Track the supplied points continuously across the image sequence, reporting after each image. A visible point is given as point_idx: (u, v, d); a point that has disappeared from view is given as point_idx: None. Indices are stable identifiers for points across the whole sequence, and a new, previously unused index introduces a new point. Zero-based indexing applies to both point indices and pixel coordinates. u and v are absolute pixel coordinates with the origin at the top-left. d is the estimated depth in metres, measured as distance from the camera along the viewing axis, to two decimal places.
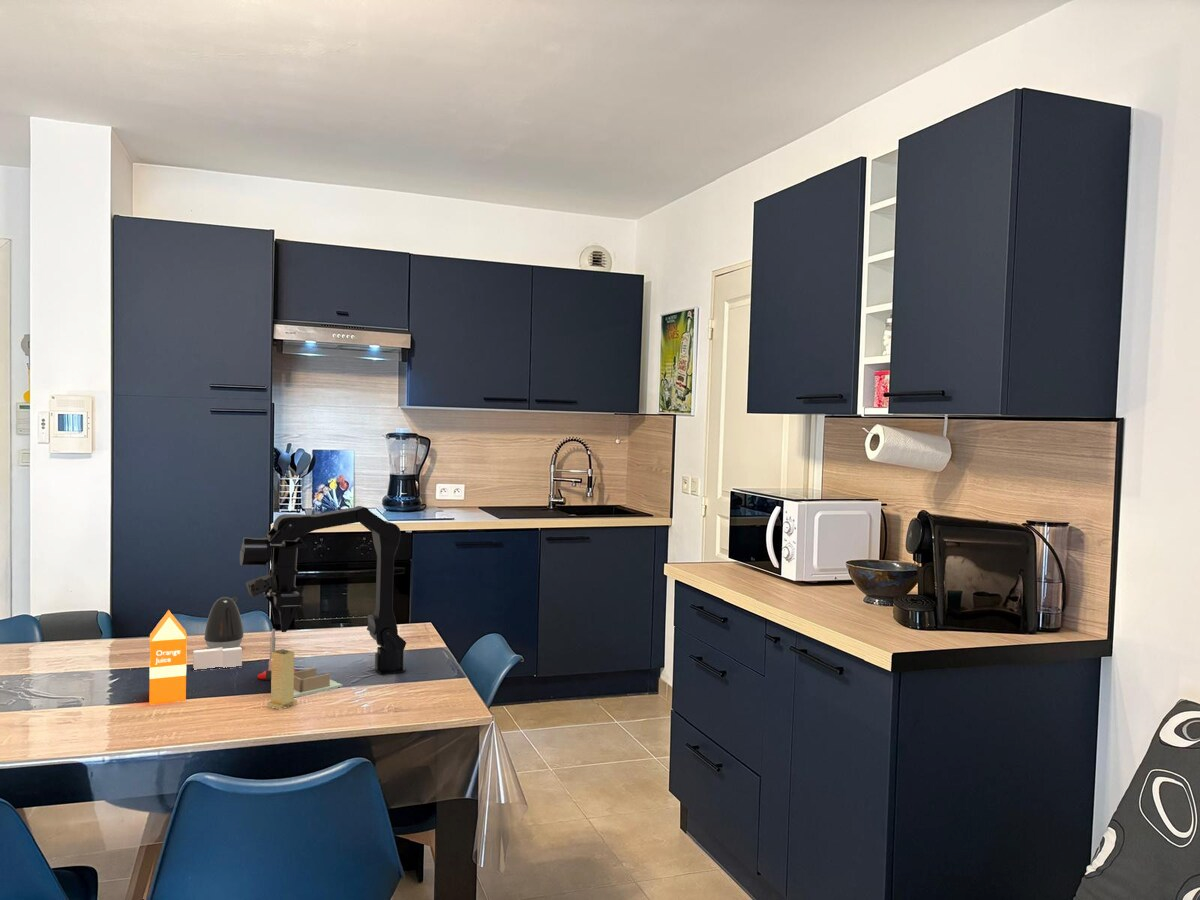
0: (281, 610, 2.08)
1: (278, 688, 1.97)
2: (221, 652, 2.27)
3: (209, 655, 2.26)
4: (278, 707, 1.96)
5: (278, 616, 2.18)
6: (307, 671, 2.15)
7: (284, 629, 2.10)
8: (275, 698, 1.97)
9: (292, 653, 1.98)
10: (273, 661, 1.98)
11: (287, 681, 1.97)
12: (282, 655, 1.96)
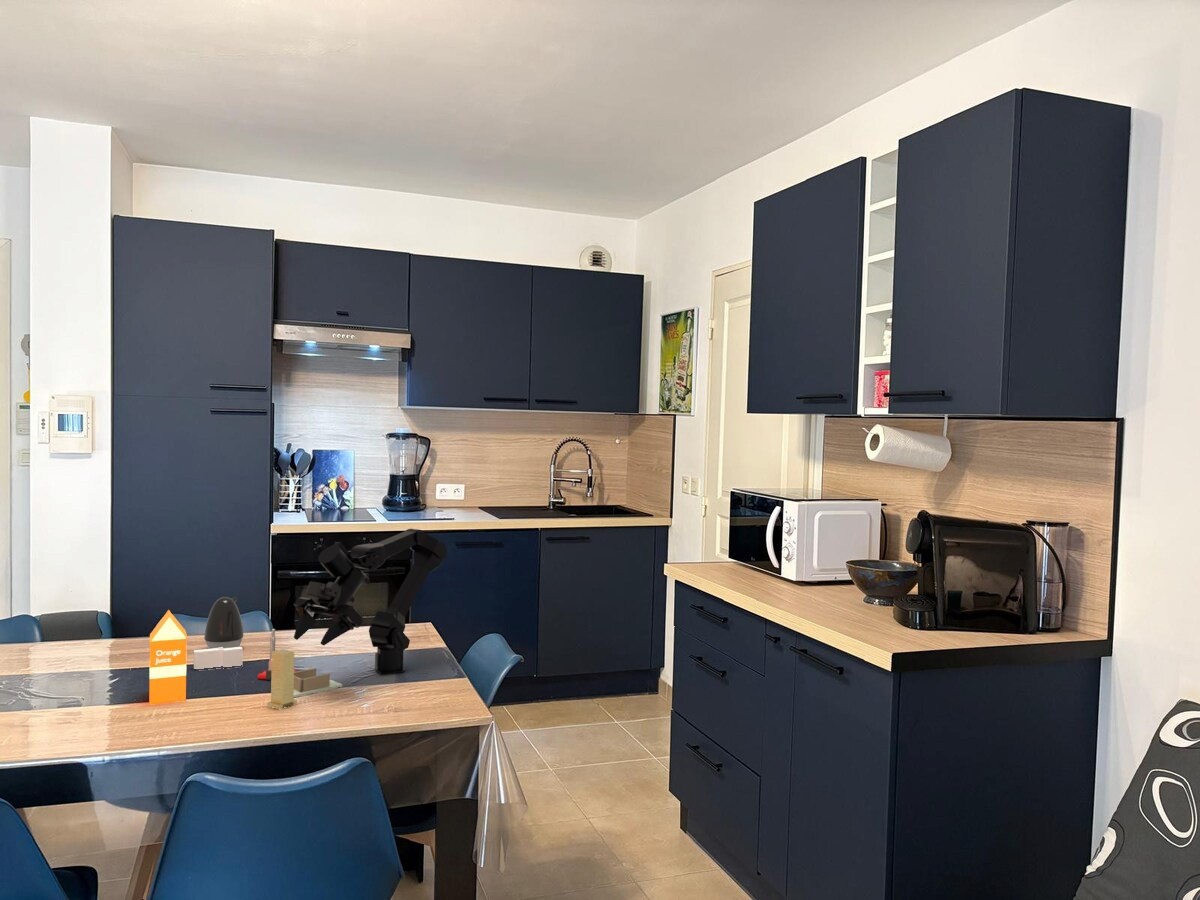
0: (338, 622, 2.04)
1: (278, 688, 1.97)
2: (222, 652, 2.27)
3: (210, 655, 2.26)
4: (278, 707, 1.96)
5: (301, 632, 2.08)
6: (307, 671, 2.15)
7: (324, 642, 2.03)
8: (275, 698, 1.97)
9: (292, 653, 1.98)
10: (273, 661, 1.98)
11: (287, 681, 1.97)
12: (282, 655, 1.96)
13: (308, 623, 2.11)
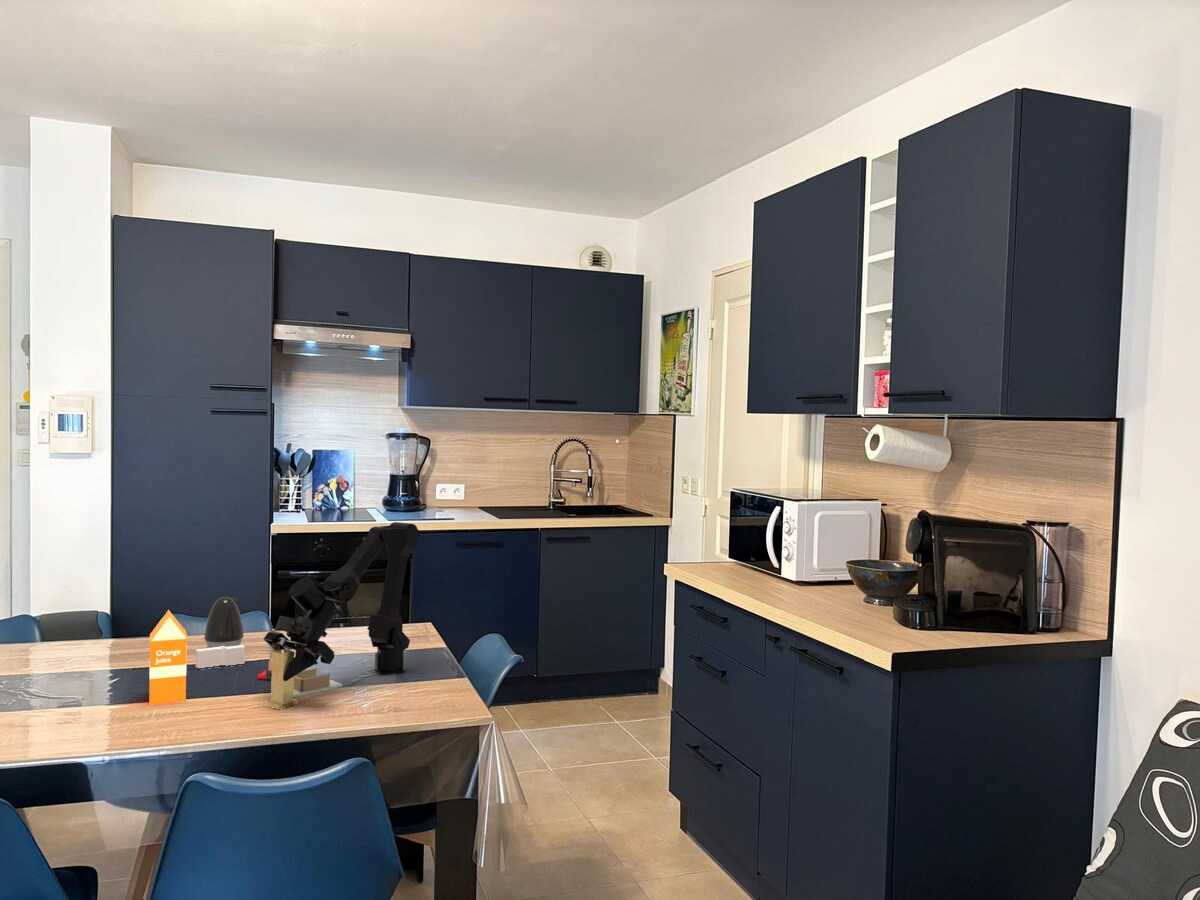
0: (301, 657, 1.98)
1: (278, 688, 1.97)
2: (224, 650, 2.29)
3: (213, 654, 2.27)
4: (278, 707, 1.96)
5: None
6: (307, 671, 2.15)
7: (286, 677, 1.96)
8: (275, 698, 1.97)
9: (292, 653, 1.98)
10: (273, 661, 1.98)
11: (287, 681, 1.97)
12: (282, 655, 1.96)
13: None
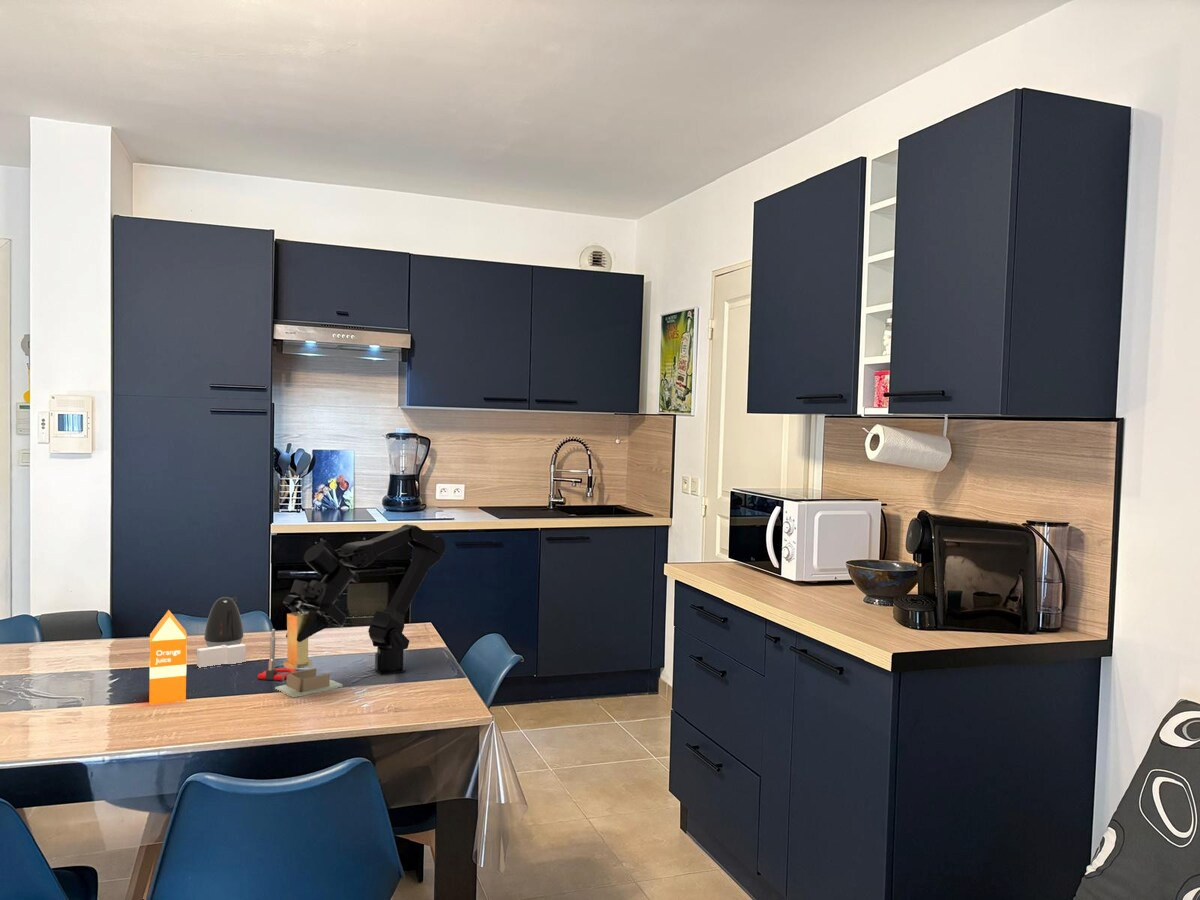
0: (314, 619, 2.05)
1: (293, 649, 2.05)
2: (225, 649, 2.30)
3: (214, 653, 2.28)
4: (292, 667, 2.03)
5: None
6: (307, 671, 2.15)
7: (300, 638, 2.04)
8: (291, 658, 2.05)
9: (306, 615, 2.05)
10: (288, 623, 2.06)
11: (301, 641, 2.05)
12: (295, 617, 2.04)
13: None
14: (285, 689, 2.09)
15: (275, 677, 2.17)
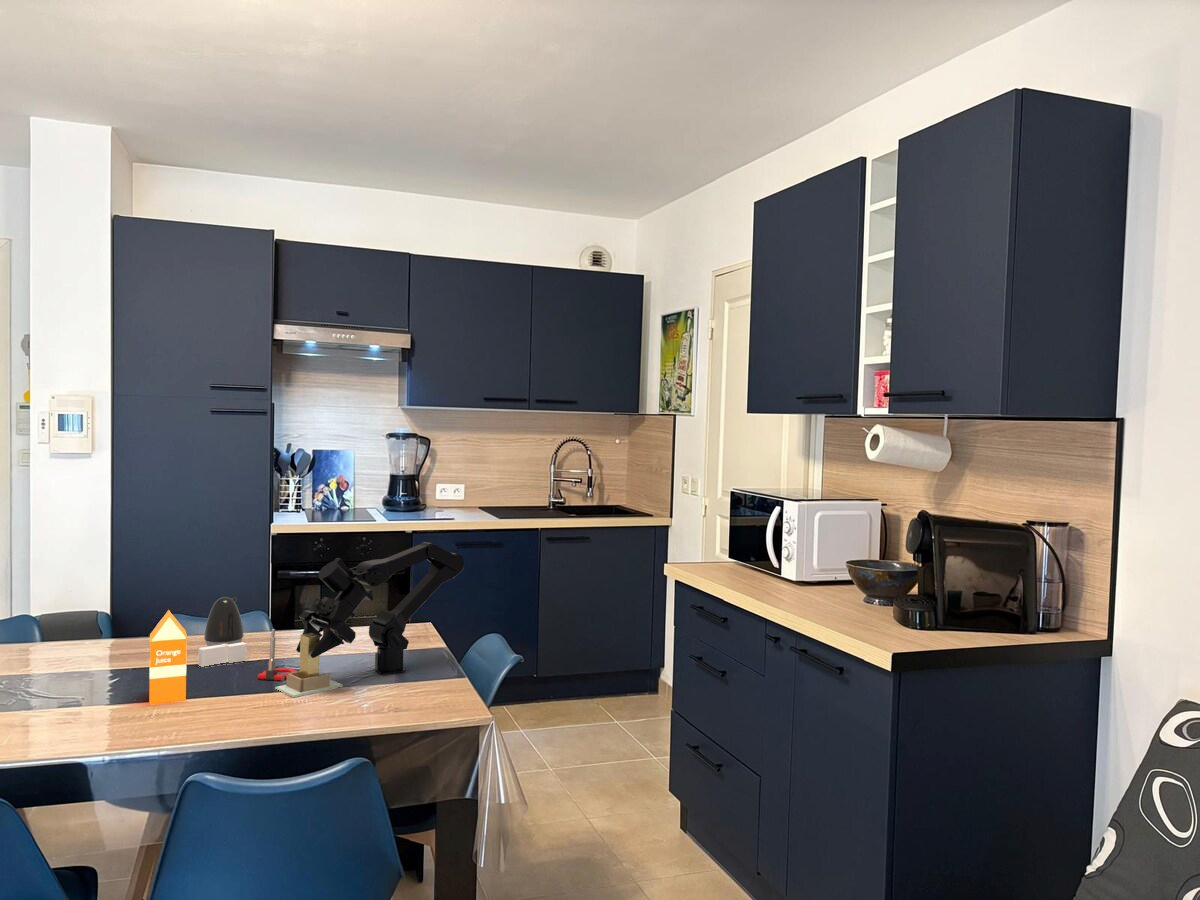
0: (327, 636, 2.09)
1: (304, 669, 2.11)
2: (226, 648, 2.31)
3: (216, 652, 2.29)
4: None
5: None
6: None
7: (313, 654, 2.09)
8: (302, 678, 2.11)
9: (317, 637, 2.11)
10: (301, 643, 2.12)
11: (312, 662, 2.10)
12: (307, 638, 2.10)
13: None
14: (285, 689, 2.09)
15: (275, 677, 2.17)
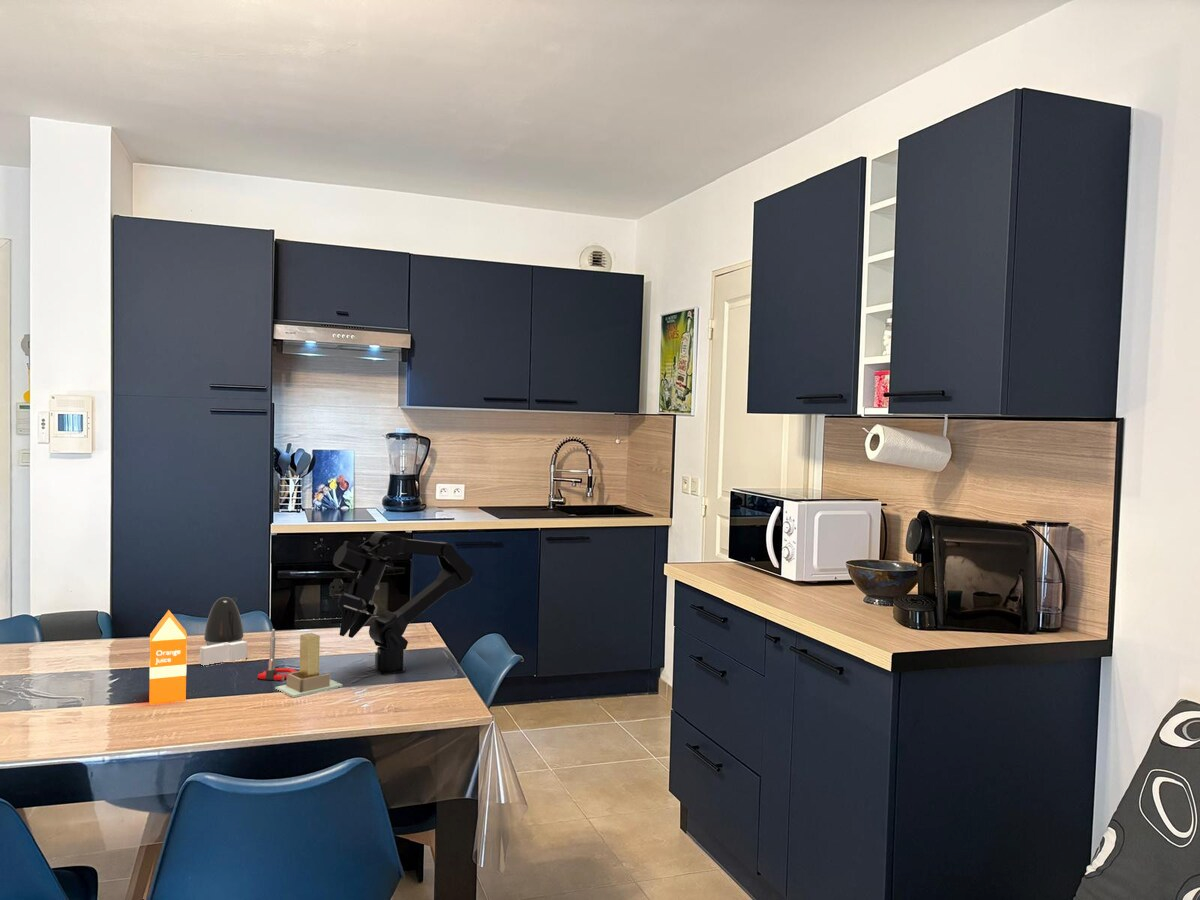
0: (343, 611, 2.15)
1: (304, 669, 2.11)
2: (227, 646, 2.33)
3: (217, 650, 2.31)
4: None
5: (354, 630, 2.25)
6: None
7: (342, 633, 2.15)
8: (302, 678, 2.11)
9: (317, 637, 2.11)
10: (301, 643, 2.12)
11: (312, 662, 2.10)
12: (307, 638, 2.10)
13: (361, 619, 2.26)
14: (285, 689, 2.09)
15: (275, 677, 2.17)
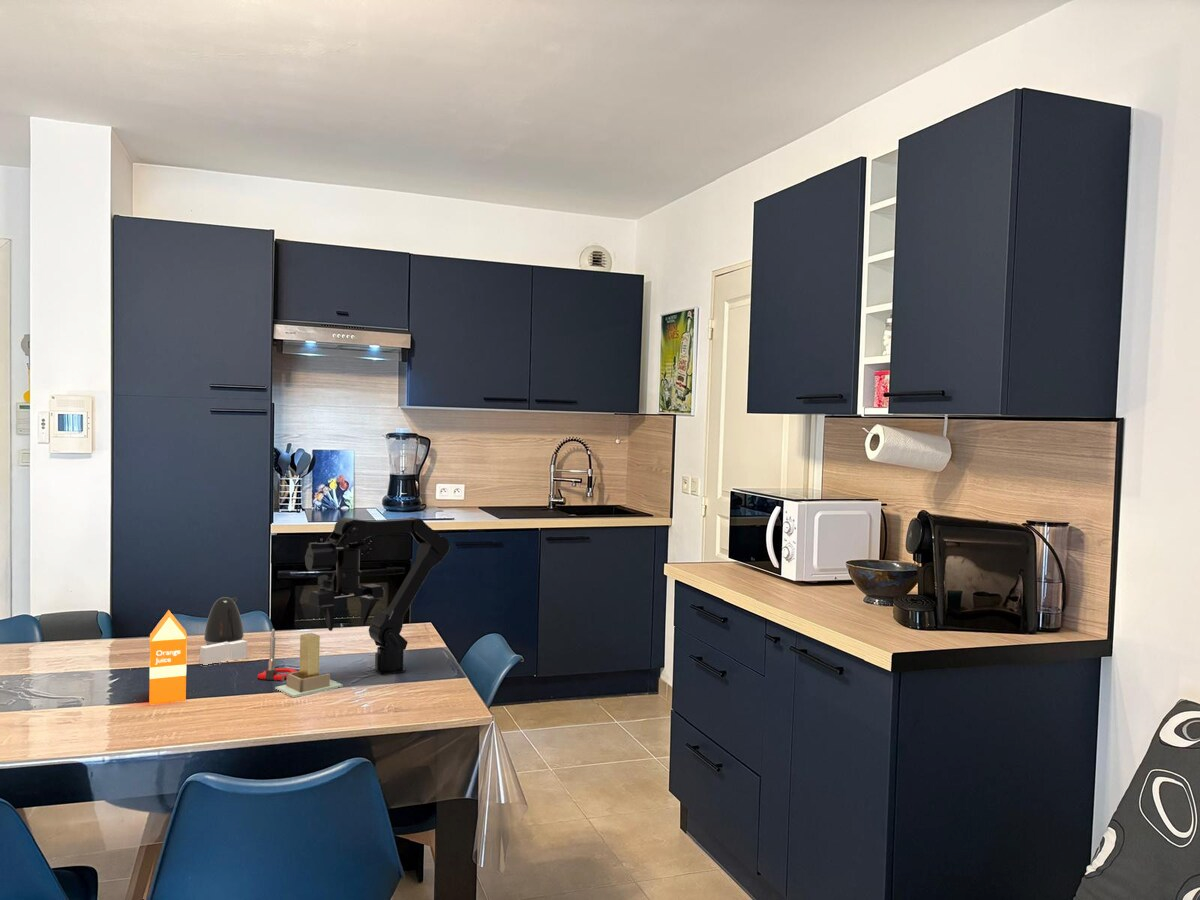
0: (321, 608, 2.17)
1: (304, 669, 2.11)
2: (227, 646, 2.34)
3: (217, 650, 2.31)
4: None
5: (363, 617, 2.24)
6: None
7: (329, 627, 2.17)
8: (302, 678, 2.11)
9: (317, 637, 2.11)
10: (301, 643, 2.12)
11: (312, 662, 2.10)
12: (307, 638, 2.10)
13: (365, 606, 2.24)
14: (285, 689, 2.09)
15: (275, 677, 2.17)
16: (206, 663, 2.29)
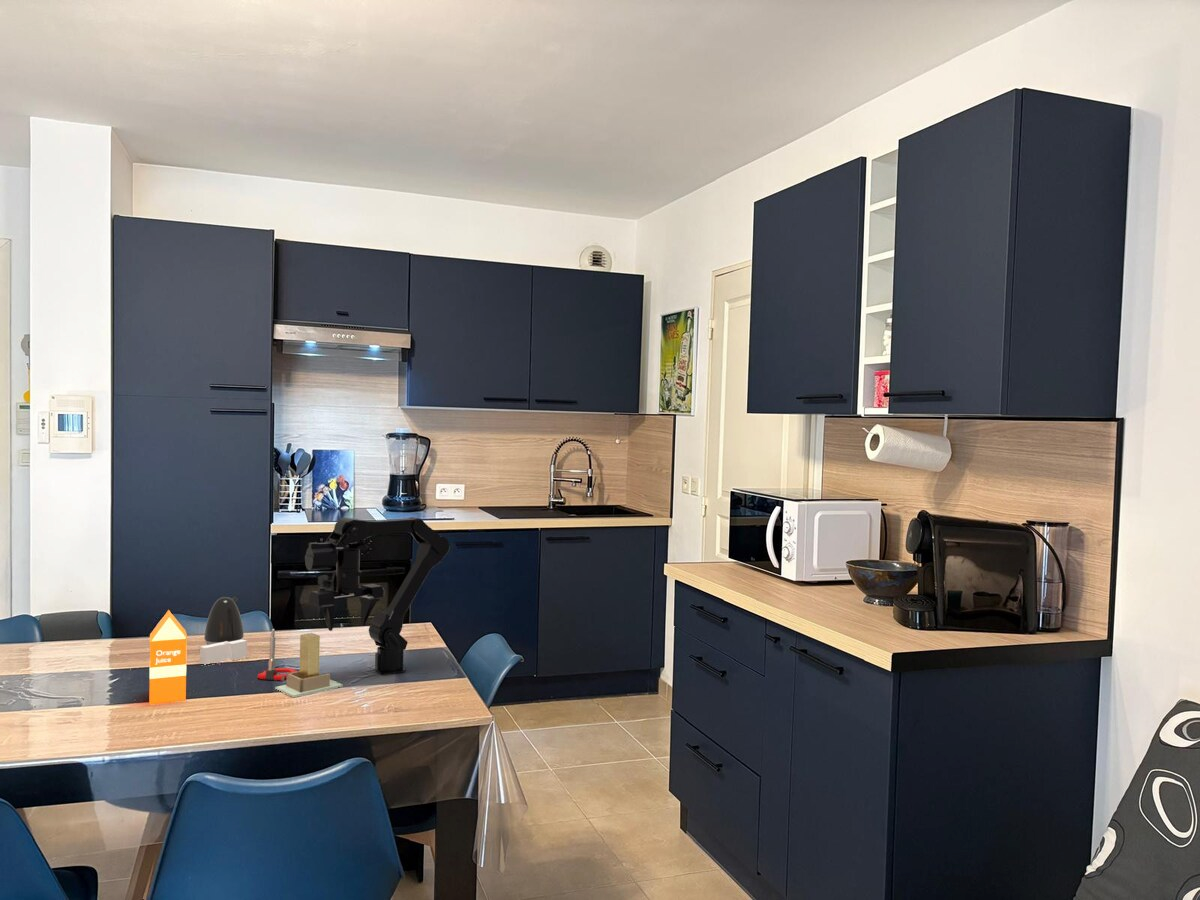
0: (321, 608, 2.17)
1: (304, 669, 2.11)
2: (228, 645, 2.34)
3: (218, 649, 2.32)
4: None
5: (363, 617, 2.24)
6: None
7: (329, 627, 2.17)
8: (302, 678, 2.11)
9: (317, 637, 2.11)
10: (301, 643, 2.12)
11: (312, 662, 2.10)
12: (307, 638, 2.10)
13: (365, 606, 2.24)
14: (285, 689, 2.09)
15: (275, 677, 2.17)
16: (206, 663, 2.29)
